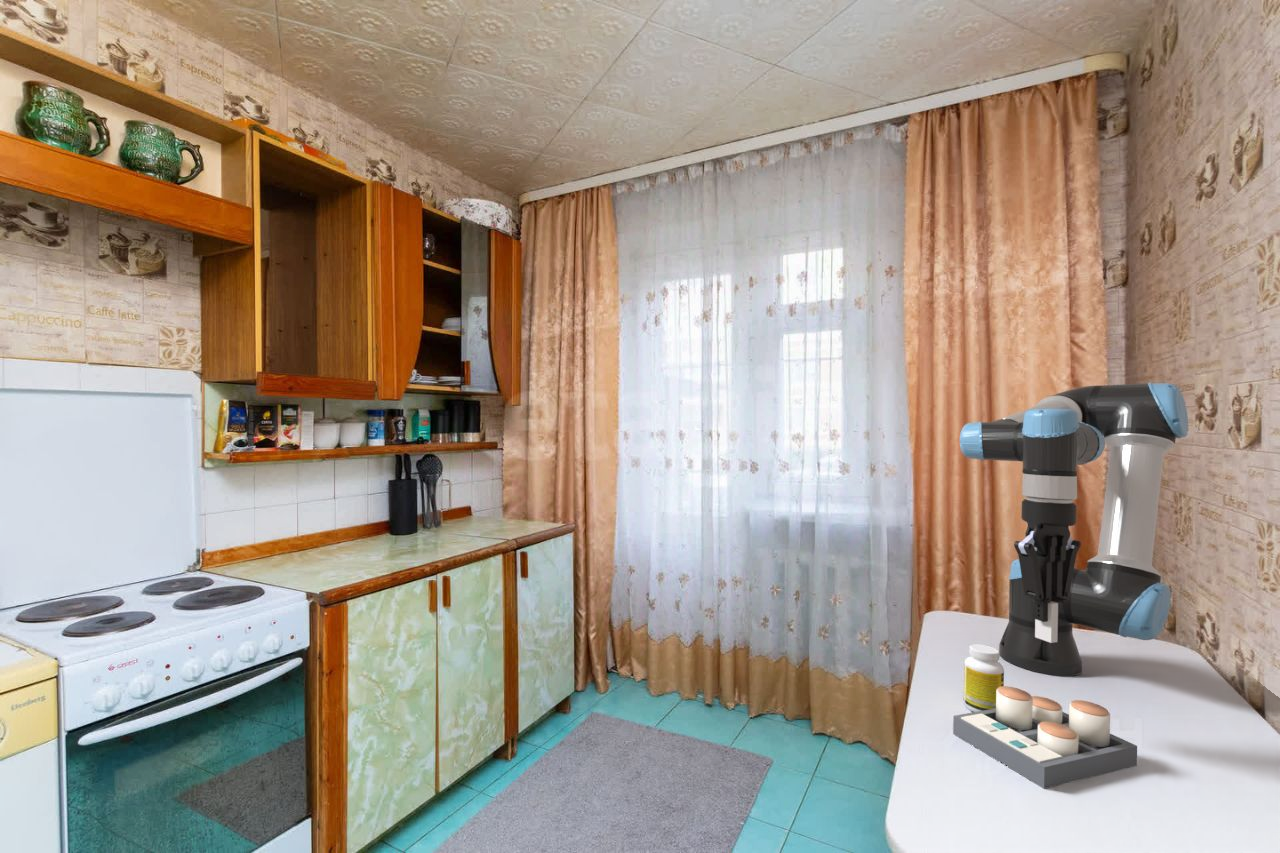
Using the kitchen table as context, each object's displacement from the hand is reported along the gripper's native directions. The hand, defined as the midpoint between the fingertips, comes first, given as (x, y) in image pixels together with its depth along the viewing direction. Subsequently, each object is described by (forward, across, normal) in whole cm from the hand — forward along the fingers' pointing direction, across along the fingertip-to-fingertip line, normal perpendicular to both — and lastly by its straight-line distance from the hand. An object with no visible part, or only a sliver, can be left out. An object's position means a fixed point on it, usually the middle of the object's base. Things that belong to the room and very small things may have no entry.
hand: (1046, 639), depth 95 cm
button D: (+15, +7, +7) cm, 18 cm away
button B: (+13, 0, +7) cm, 15 cm away
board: (+16, +6, +4) cm, 17 cm away
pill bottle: (+16, +3, -9) cm, 19 cm away
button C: (+13, +7, 0) cm, 15 cm away
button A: (+15, 0, 0) cm, 15 cm away
